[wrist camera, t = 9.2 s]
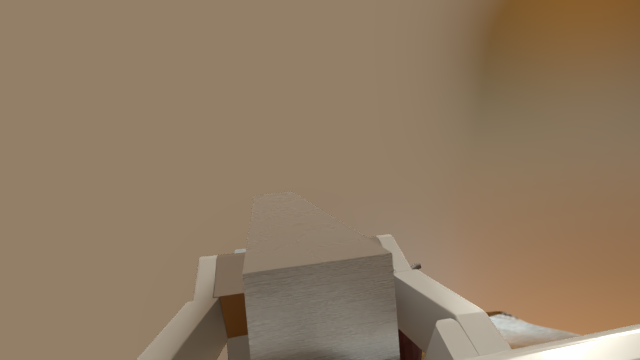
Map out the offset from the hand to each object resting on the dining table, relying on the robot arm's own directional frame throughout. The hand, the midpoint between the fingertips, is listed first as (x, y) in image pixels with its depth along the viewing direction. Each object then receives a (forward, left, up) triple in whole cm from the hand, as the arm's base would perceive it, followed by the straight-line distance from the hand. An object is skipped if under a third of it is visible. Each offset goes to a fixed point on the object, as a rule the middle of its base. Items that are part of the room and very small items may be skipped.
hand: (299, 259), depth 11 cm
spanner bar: (0, -6, -2) cm, 6 cm away
